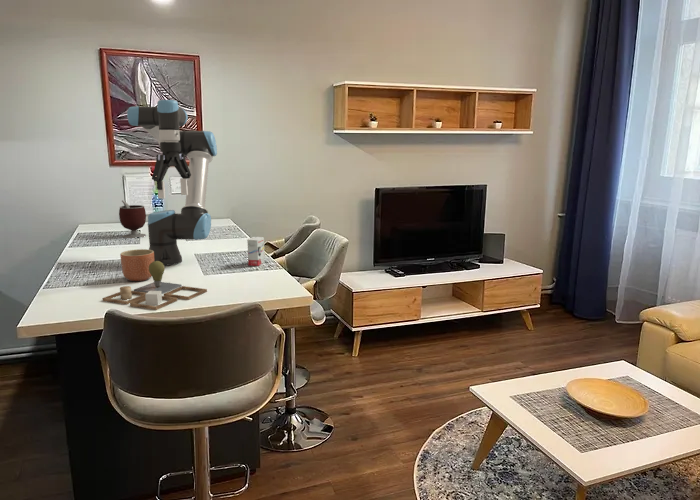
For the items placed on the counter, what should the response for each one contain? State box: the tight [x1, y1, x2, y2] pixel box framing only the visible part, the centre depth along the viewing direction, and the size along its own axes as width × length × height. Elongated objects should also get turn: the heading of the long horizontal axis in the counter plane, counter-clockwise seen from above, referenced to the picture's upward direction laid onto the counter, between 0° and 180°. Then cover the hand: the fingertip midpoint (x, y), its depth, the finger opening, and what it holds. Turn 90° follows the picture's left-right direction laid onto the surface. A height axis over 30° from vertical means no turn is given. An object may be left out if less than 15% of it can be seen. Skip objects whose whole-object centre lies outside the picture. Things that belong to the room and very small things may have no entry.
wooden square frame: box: [101, 290, 146, 305], centre depth 185 cm, size 11×11×1 cm
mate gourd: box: [118, 200, 147, 239], centre depth 296 cm, size 16×14×20 cm
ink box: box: [247, 236, 266, 267], centre depth 235 cm, size 9×5×12 cm, turn 168°
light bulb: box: [149, 261, 166, 287], centre depth 196 cm, size 6×6×10 cm
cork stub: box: [119, 285, 133, 301], centre depth 184 cm, size 4×4×4 cm
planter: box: [120, 248, 154, 282], centre depth 208 cm, size 12×12×11 cm
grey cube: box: [145, 291, 163, 306], centre depth 179 cm, size 4×4×4 cm
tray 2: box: [129, 295, 178, 311], centre depth 179 cm, size 11×11×1 cm
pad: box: [133, 281, 182, 295], centre depth 197 cm, size 12×12×1 cm
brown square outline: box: [163, 285, 208, 301], centre depth 190 cm, size 11×11×1 cm
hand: (173, 196), depth 207 cm, fingers open, 13 cm apart
